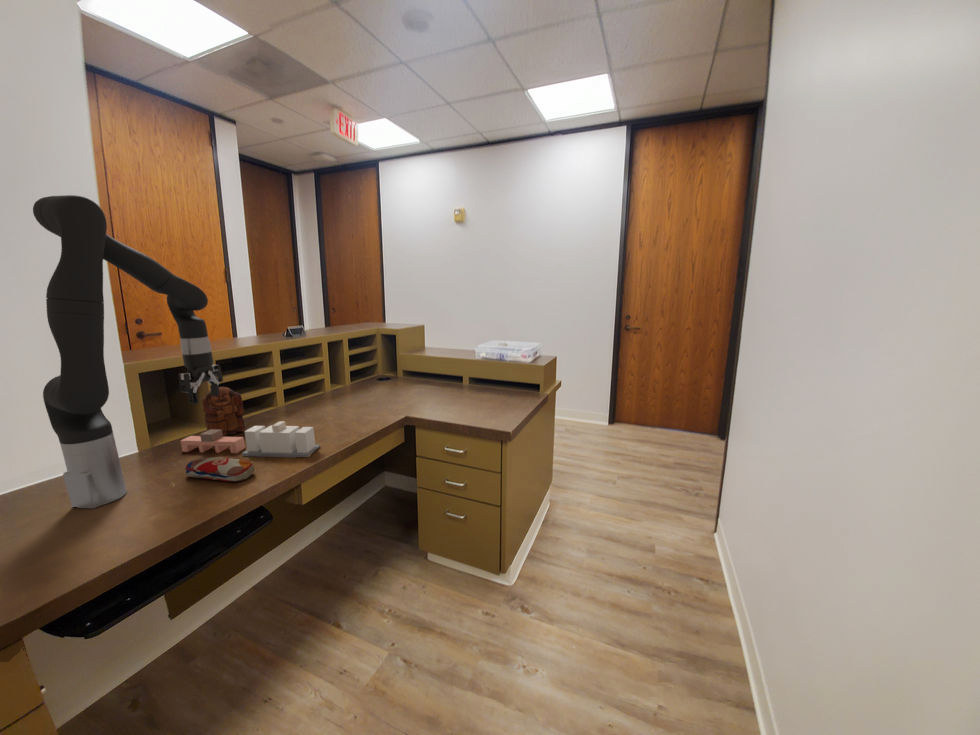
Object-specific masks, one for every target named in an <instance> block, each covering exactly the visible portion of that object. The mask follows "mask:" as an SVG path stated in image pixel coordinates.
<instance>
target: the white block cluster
mask: <svg viewBox="0 0 980 735" xmlns="http://www.w3.org/2000/svg"><path fill="white" fill-rule="evenodd" d="M244 439H245V444H246V445H245V446H246V450H245V451H243V452H242V453H241V456H242V457H264V458H266V457H267V458H269V457H270V458H296V457H308V456H309V455H310V454H311V453H313V452H314V451H315V450H316V449H317V448H319V447H320V448H321V444H316V438H315V431H314V426H302V427H300V425H299V426H298V425H286V421H283V420H282V421H281V420H280V421H277V422H276V423H274V424H271V425H269V426H267V427H266V426H265V425H254V426H252V427H249V428H248V429H245V431H244ZM320 448H319V449H320ZM316 451H317V450H316ZM316 451H315V452H316ZM315 452H314V453H315ZM314 453H313V454H314ZM310 456H311V455H310ZM310 456H309V457H310ZM309 457H308V458H309Z"/></svg>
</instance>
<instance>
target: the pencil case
mask: <svg viewBox="0 0 980 735" xmlns="http://www.w3.org/2000/svg"><path fill="white" fill-rule="evenodd" d="M254 471H255V466H254V463H253V461H252V460H249V459H239V458H230V457H217V456H216V457H214V456H213V457H211V456H209V457H202V458H197V459H193V460H191V461H189V462H188V463H187V464H186V465H185V476H186V477H191V478H199V479H206V480H207V479H208V480H215V481H224V482H231V483H232V482H234V483H235V482H236V483H237V482H241V481H242V482H243V481H244V480H247V479H248V478H249V477H250V476H251V475H252V474H253V473H254Z"/></svg>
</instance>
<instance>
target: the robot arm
mask: <svg viewBox="0 0 980 735" xmlns="http://www.w3.org/2000/svg"><path fill="white" fill-rule="evenodd" d="M32 213H33V216H34V218H35V220H36V221H37V223H38V224H39V225H40V226H41V227H42V228H44V229H45V230H47V231H48V232H50V233H51V234H54V235H55V236H58V237H60V241H61V252H60V258H59V262H58V263H57V265H56V268H55V270H54V272H53V273H52V276H51V277H50V279H49V282H48V284H47V286H46V287H47V288H46V294H45V295H46V296H45V298H46V299H45V302H46V318H47V323H48V326H49V329H50V331H51V334H52V336H53V339H54V341H55V343H56V346H57V349H58V352H59V356H60V375H57V376H54V377H53V378H52V379H50V380H49V381H48V382H47V383H46V384H45V386H44V388H43V391H42V398H43V402H44V406H45V409H46V410H45V411H46V413H47V416H48V419H49V422H50V425H51V428H52V429H53V432H54V433H55V434H56V435H57V438H58V442H59V445H60V449H61V452H62V456H63V459H64V464H65V467H66V471H65V472H63V474H62V476H63V480H64V483H65V487H66V490H67V495H68V498H69V501H70V506H71V508H72V507H77V508H76V509H96V508H98V507H100V506H103V505H107V504H109V503H112V502H114V501H117V500H119V499H121V498H122V497H124V496H125V495H126V494H127V492H128V491H127V486H126V483H125V478H124V473H123V469H122V465H121V460H120V456H119V451H118V447H117V444H116V443H117V442H116V439H115V434H114V431H113V426H112V423H111V422H110V420H109V419H108V418H107V417H106V415H105V414H104V413H103V410H102V408H103V407H104V405H105V404H106V403H107V402H108V399H109V396H110V389H109V388H110V387H109V381H108V376H107V370H106V365H105V363H106V362H105V356H104V355H105V354H104V353H105V352H104V351H105V350H104V348H105V346H104V344H105V330H104V329H105V327H104V325H105V306H104V305H105V300H104V261H106V262H108V263H109V264H110V265H111V264H112V265H113V266H115V267H116V268H118V269H119V270H121V271H122V272H124V273H126V274H127V275H129V276H130V277H132V278H133V279H135V280H137V282H139V283H141V284H142V285H144V286H145V287H147V288H149V289H150V290H151V291H152V292H155V293H158V294H162V295H166V303H167V306H168V309H169V311H170V313H171V315H172V317H173V319H174V322H175V323H176V325H177V329H178V335H179V338H180V339H179V340H180V351H181V354H182V356H181V357H182V360H183V366H184V367H185V368H187V372H185V373H183V372H182V373H178V382H179V389H180V392H181V393H185V394H187V397H188V402H189V403H190V405H197V404H199V403H200V401H199V396H198V392H197V390H198V388H199V387H200V386H201V384H203V383H205V382H207V383H208V384H209V385H210V386H209V387H210V390H211V394H212V396H219V387H220V386H219V385H220V383H222V382H224V378H223V373H222V368H221V365H220V364H214V359H213V358H214V357H213V356H214V355H213V353H212V352H213V351H212V346H211V342H210V339H209V333H208V329H207V323H206V321H205V320H204V319H203V318H200V317H198V316H197V315H196V314H195V312H197V311H201V310H204V309H205V308H207V305H208V302H209V300H208V296H207V295H206V293H205V292H204V290H202V289H201V288H200V287H198V286H197V285H195V284H194V283H192V282H189V281H188V280H185V279H184V278H182V277H179V276H177V275H175V274H173V273H172V271H170V270H168V269H167V268H166V267H164V266H163V265H162V264H161V263H159V262H158V261H156V260H155V259H153V258H152V257H150V256H148V255H147V254H144V253H143V252H140V251H139V250H136V249H135V248H132V247H130V246H128V245H126V244H125V243H123V242H121V241H119V240H117V239H115V238H113V237H112V236H110V235H109V234H107V229H108V228H107V227H108V226H107V224H108V223H107V219H106V218H107V217H106V215H105V212H104V211H103V209H102V208H101V207H100V206H99V205H98V204H97V202H95V201H94V200H92V199H90V198H89V197H87V196H82V195H71V194H70V195H69V194H68V195H51V196H44V197H41V198H39V199H37V200H36V201H35V202H34V203H33V207H32Z"/></svg>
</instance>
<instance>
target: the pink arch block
mask: <svg viewBox="0 0 980 735" xmlns="http://www.w3.org/2000/svg"><path fill="white" fill-rule="evenodd" d="M245 444H246V443H245V436H244V437H243V436H225V437H223V434H222V430H220V429H210V430H208V431H207V430H206V431H204V432H202V433H200V435H190V436H186V437H185V438H183V439H180V445H181V452H184V453H189V452H191V451H193V450H195V449H197V448H199V449H198V450H199V453H204V452H206V451H208V450H210V449H213V447H214V450H215V453H216V454H218V453H221V452H223V451H224V450H227V449H228V448H229V450H230V453H231V454H238V453H240V452H241V451H242V450H244V449H246V445H245Z"/></svg>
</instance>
